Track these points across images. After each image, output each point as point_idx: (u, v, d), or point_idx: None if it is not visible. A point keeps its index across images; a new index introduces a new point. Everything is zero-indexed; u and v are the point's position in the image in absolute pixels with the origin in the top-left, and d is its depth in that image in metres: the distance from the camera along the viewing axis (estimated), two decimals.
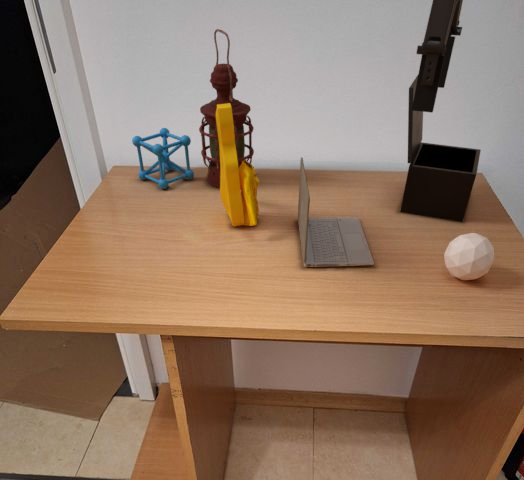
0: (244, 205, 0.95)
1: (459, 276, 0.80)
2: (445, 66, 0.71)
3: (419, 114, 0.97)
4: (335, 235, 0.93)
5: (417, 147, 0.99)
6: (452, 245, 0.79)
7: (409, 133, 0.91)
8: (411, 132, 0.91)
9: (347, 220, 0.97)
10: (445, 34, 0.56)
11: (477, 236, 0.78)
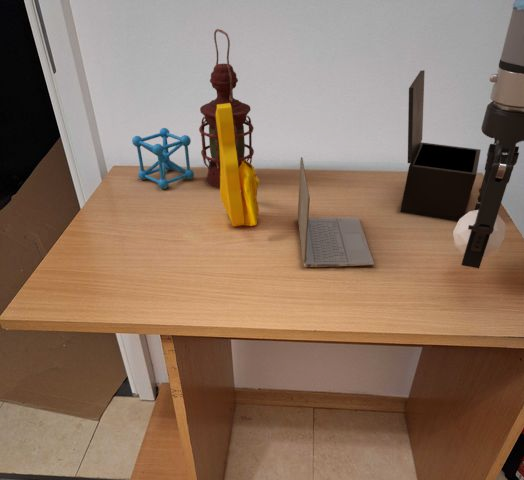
0: (244, 205, 0.95)
1: None
2: None
3: (419, 114, 0.97)
4: (335, 235, 0.93)
5: (417, 147, 0.99)
6: (461, 222, 0.77)
7: (409, 133, 0.91)
8: (411, 132, 0.91)
9: (347, 220, 0.97)
10: (493, 223, 0.69)
11: None
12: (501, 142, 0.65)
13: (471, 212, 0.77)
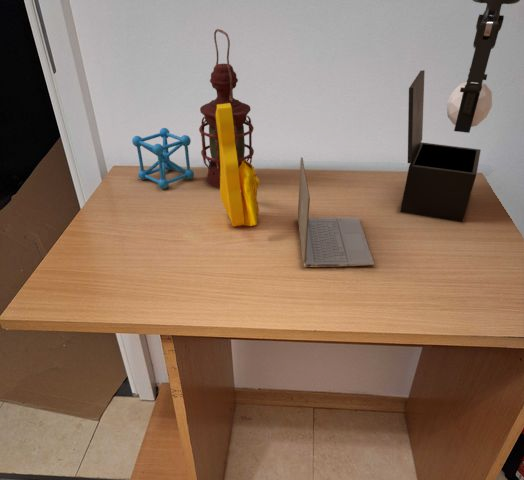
0: (244, 205, 0.95)
1: None
2: None
3: (419, 114, 0.97)
4: (335, 235, 0.93)
5: (417, 147, 0.99)
6: (454, 92, 0.87)
7: (409, 133, 0.91)
8: (411, 132, 0.91)
9: (347, 220, 0.97)
10: (481, 80, 0.80)
11: None
12: (488, 4, 0.76)
13: (462, 83, 0.87)
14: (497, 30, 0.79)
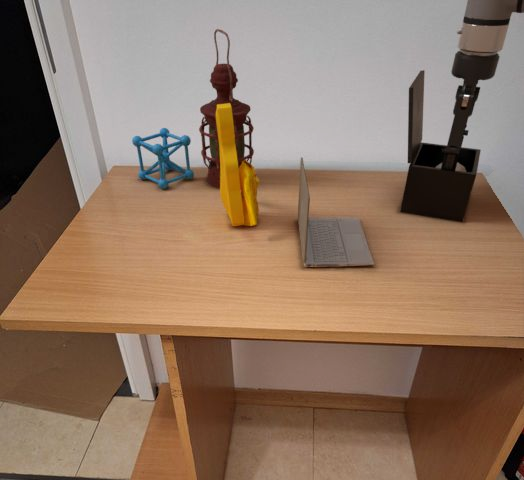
0: (244, 205, 0.95)
1: None
2: None
3: (419, 114, 0.97)
4: (335, 235, 0.93)
5: (417, 147, 0.99)
6: (436, 167, 1.00)
7: (409, 133, 0.91)
8: (411, 132, 0.91)
9: (347, 220, 0.97)
10: (460, 144, 0.89)
11: (457, 163, 0.99)
12: (465, 80, 0.86)
13: None
14: (474, 101, 0.88)
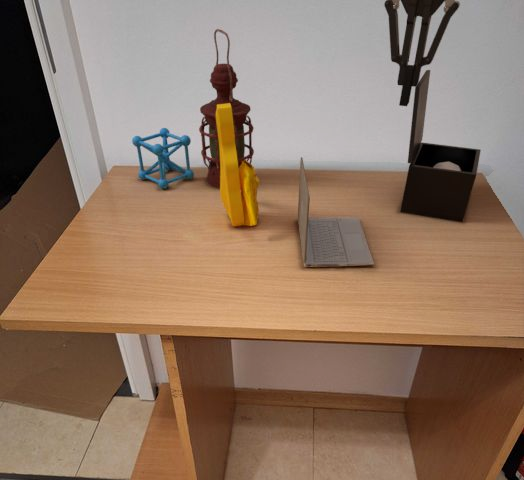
0: (244, 205, 0.95)
1: None
2: None
3: (422, 114, 0.97)
4: (335, 235, 0.93)
5: (417, 147, 0.99)
6: None
7: (412, 133, 0.91)
8: (414, 132, 0.91)
9: (347, 220, 0.97)
10: None
11: (450, 163, 1.00)
12: None
13: (438, 163, 1.01)
14: (409, 6, 0.84)
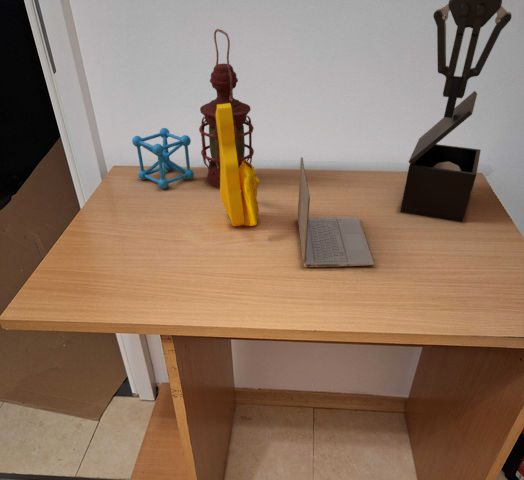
0: (244, 205, 0.95)
1: None
2: None
3: None
4: (335, 235, 0.93)
5: None
6: None
7: (433, 142, 0.91)
8: (435, 143, 0.91)
9: (347, 220, 0.97)
10: None
11: (450, 163, 1.00)
12: None
13: (438, 163, 1.01)
14: (459, 18, 0.83)
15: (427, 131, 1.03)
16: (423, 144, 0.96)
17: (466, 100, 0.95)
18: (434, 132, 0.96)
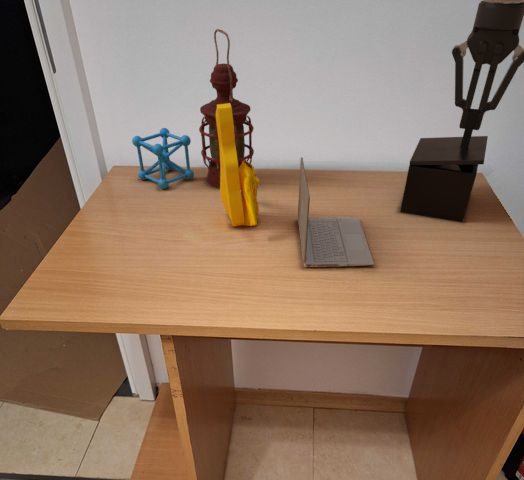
0: (244, 205, 0.95)
1: None
2: None
3: None
4: (335, 235, 0.93)
5: None
6: None
7: (439, 162, 0.93)
8: (440, 164, 0.93)
9: (347, 220, 0.97)
10: (455, 97, 0.90)
11: None
12: None
13: None
14: (477, 55, 0.85)
15: None
16: (427, 153, 0.96)
17: (478, 140, 0.98)
18: (440, 148, 0.98)
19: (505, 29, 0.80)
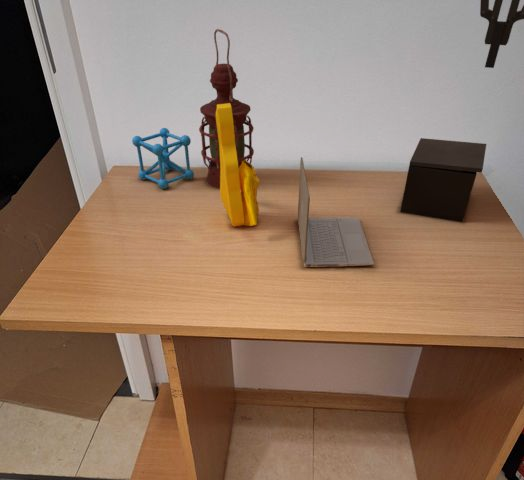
0: (244, 205, 0.95)
1: None
2: None
3: None
4: (335, 235, 0.93)
5: None
6: None
7: (439, 165, 0.93)
8: (439, 167, 0.93)
9: (347, 220, 0.97)
10: (480, 6, 0.81)
11: None
12: None
13: None
14: None
15: (430, 139, 1.04)
16: (427, 155, 0.97)
17: (477, 147, 0.99)
18: (440, 151, 0.98)
19: None
